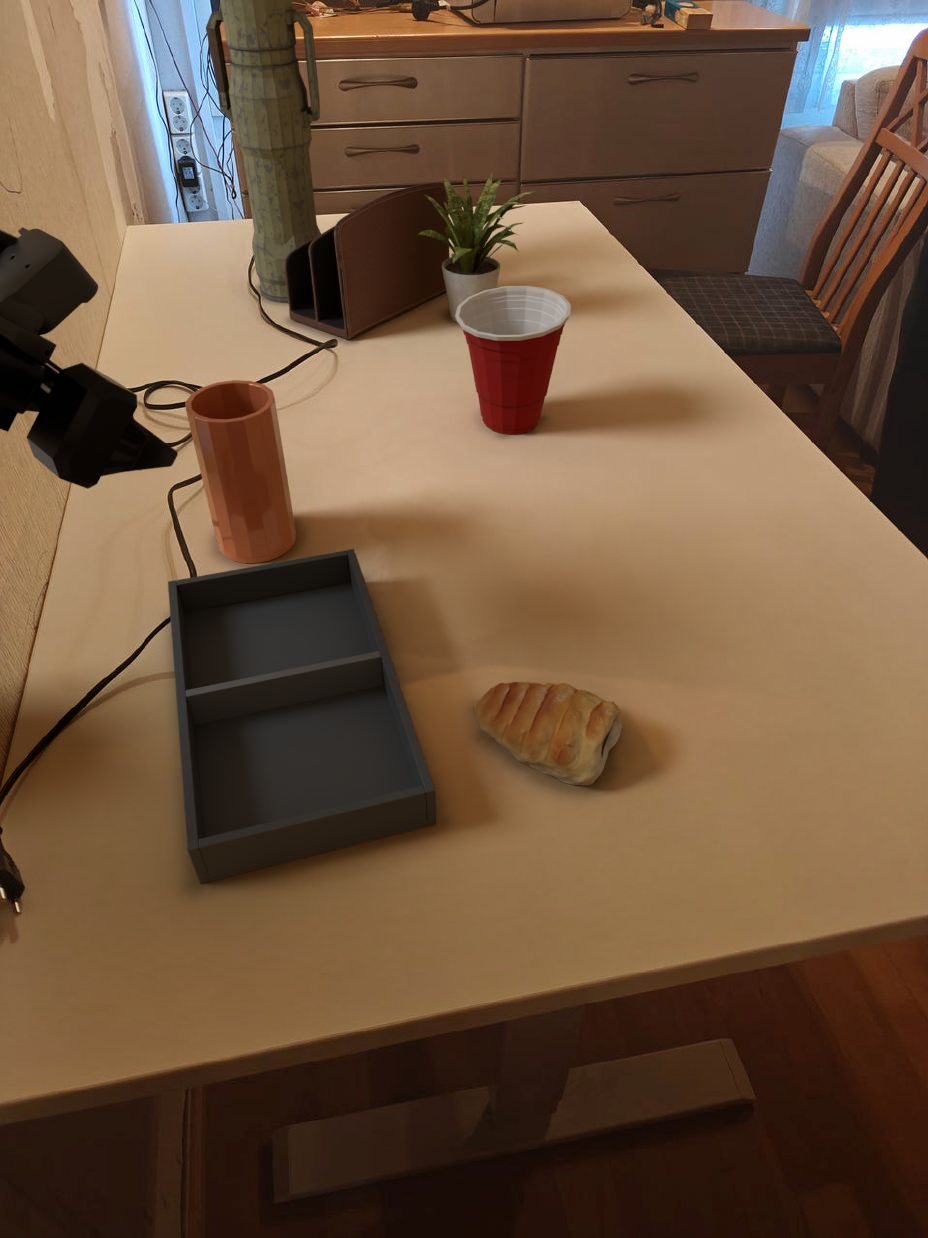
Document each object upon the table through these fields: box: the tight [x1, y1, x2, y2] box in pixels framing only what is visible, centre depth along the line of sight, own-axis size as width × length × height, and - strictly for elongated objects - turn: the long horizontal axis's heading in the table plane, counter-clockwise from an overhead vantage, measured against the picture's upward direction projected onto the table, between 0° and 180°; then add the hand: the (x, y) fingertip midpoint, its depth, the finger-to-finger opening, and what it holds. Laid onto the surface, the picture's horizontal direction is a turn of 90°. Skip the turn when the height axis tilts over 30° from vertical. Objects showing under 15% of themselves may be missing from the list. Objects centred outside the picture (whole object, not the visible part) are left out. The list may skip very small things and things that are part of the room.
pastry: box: [474, 681, 623, 786], centre depth 56 cm, size 9×7×4 cm
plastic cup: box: [455, 285, 572, 435], centre depth 85 cm, size 11×11×12 cm
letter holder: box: [284, 181, 451, 341], centre depth 106 cm, size 10×20×14 cm, turn 143°
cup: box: [184, 379, 297, 564], centre depth 69 cm, size 6×6×13 cm
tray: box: [167, 548, 438, 884], centre depth 58 cm, size 14×24×3 cm, turn 17°
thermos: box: [205, 0, 322, 304], centre depth 103 cm, size 9×12×35 cm
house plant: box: [419, 171, 539, 323], centre depth 102 cm, size 14×14×16 cm
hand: (139, 434), depth 61 cm, fingers open, 9 cm apart
